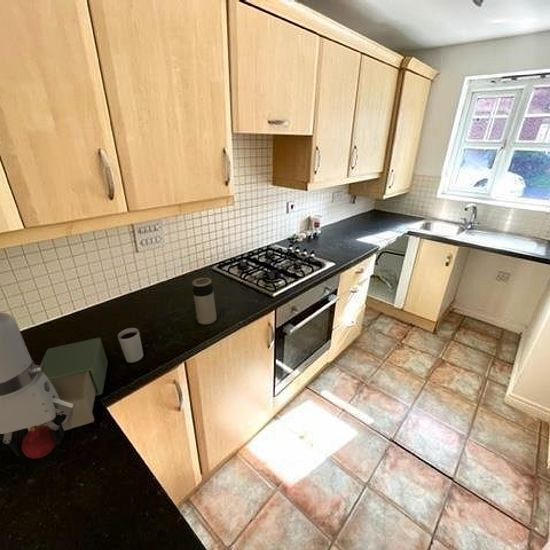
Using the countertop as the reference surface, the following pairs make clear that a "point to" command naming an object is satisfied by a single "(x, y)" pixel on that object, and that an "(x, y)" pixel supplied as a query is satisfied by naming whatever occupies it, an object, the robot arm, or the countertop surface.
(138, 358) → the grey cup
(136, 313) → the countertop surface
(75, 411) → the drawer
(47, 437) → the onion
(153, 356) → the countertop surface
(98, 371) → the cabinet
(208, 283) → the travel mug
